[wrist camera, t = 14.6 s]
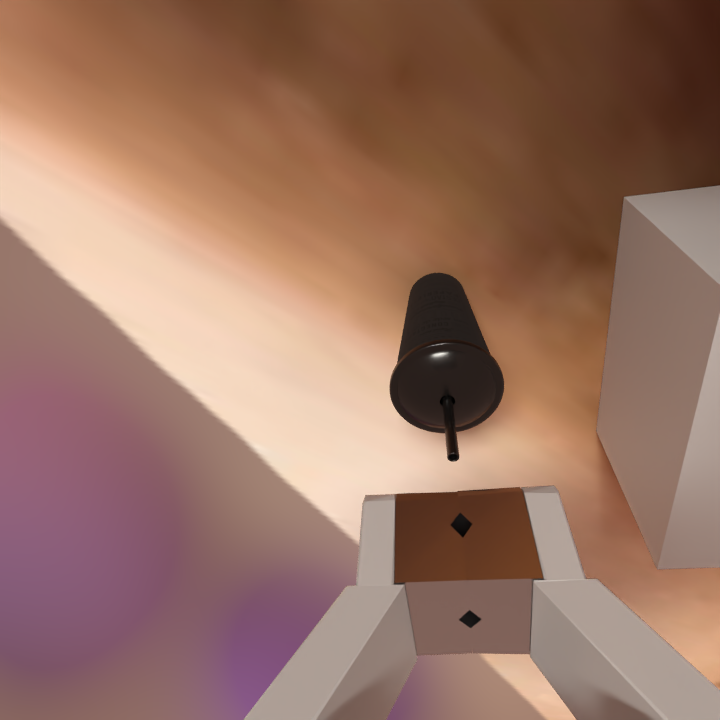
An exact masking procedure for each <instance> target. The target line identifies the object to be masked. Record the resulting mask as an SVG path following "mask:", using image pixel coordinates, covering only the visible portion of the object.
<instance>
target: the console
mask: <svg viewBox="0 0 720 720" xmlns="http://www.w3.org/2000/svg"><path fill="white" fill-rule="evenodd" d="M596 432H597V434H598V436H599V439H600V441H601V443H602V446H603V448H604V450H605V452H606V455H607V457H608V459H609V461H610V464H611V466H612V468H613V470H614V473H615V475H616V477H617V480H618V482H619V484H620V486H621V489H622V491H623V493H624V495H625V498H626V500H627V502H628V504H629V507H630V509H631V511H632V514H633V516H634V518H635V520H636V523H637V525H638V527H639V529H640V532H641V534H642V536H643V539H644V541H645V543H646V545H647V548H648V550H649V552H650V554H651V557H652V559H653V561H654V563H655V566H656V568H657V569H687V568H720V185H719V186H711V187H703V188H694V189H686V190H678V191H670V192H661V193H653V194H645V195H636V196H628V197H624V200H623V209H622V217H621V226H620V234H619V242H618V251H617V259H616V268H615V276H614V285H613V293H612V302H611V310H610V319H609V327H608V335H607V344H606V352H605V361H604V369H603V378H602V386H601V395H600V403H599V411H598V420H597V428H596Z"/></svg>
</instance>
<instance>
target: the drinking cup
mask: <svg viewBox="0 0 720 720" xmlns="http://www.w3.org/2000/svg"><path fill="white" fill-rule="evenodd" d="M503 392H504V379H503V375H502V372H501V369H500V367H499V365H498V363H497V362H496V360H495V359H494V358H493V357H492V356H491V355H490V353H489V350H488V348H487V345H486V343H485V340H484V338H483V336H482V333H481V331H480V328H479V326H478V324H477V321H476V319H475V316H474V314H473V311H472V309H471V307H470V304H469V302H468V299H467V297H466V295H465V292H464V290H463V287H462V286H461V284H460V283H459V281H458V280H456V279H455V278H454V277H452V276H450V275H447V274H444V273H433V274H429V275H426V276H424V277H422V278H420V279H419V280H418V281H417V282H416V283H415V284H414V285H413V287H412V289H411V292H410V296H409V301H408V307H407V312H406V318H405V323H404V329H403V334H402V340H401V345H400V350H399V356H398V361H397V365H396V366H395V368H394V370H393V372H392V375H391V379H390V397H391V400H392V403H393V405H394V407H395V409H396V410H397V412H398V413H399V414H400V415H401V416H402V417H403V418H404V419H405V420H406V421H407V422H409V423H410V424H412V425H414V426H416V427H418V428H420V429H423V430H426V431H430V432H436V433H445V436H446V447H447V458H448V460H449V461H457V460H458V459H459V451H458V442H457V434H456V432H459V431H464V430H467V429H470V428H472V427H474V426H477V425H478V424H480V423H482V422H483V421H485V420H486V419H487V418H488V417H490V416H491V415H492V413H493V412H494V411H495V410H496V408H497V407H498V405H499V403H500V401H501V399H502V396H503Z"/></svg>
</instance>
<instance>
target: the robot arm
mask: <svg viewBox="0 0 720 720" xmlns="http://www.w3.org/2000/svg"><path fill="white" fill-rule="evenodd" d="M472 652H473V653H492V654H530V657H531V659H532V660H533V661H534V663H535V664H536V666H537V667H538V668H539V670H540V671H541V672H542V674H543V675H544V676H545V678H546V679H547V680H548V682H549V683H550V684H551V686H552V687H553V688H554V690H555V691H556V692H557V694H558V695H559V696H560V698H561V699H562V700H563V702H564V703H565V704H566V706H567V707H568V709H569V710H570V711H571V713H572V714H573V715H574V717H575V718H576V719H577V720H720V690H719V689H718V688H717V687H716V686H715V685H713V684H712V683H711V682H710V681H709V680H708V679H707V678H706V677H705V676H704V675H702V674H701V673H700V672H699V671H698V670H697V669H696V668H695V667H694V666H693V665H691V664H690V663H689V662H688V661H687V660H686V659H685V658H684V657H683V656H682V655H680V654H679V653H678V652H677V651H676V650H675V649H674V648H673V647H672V646H671V645H669V644H668V643H667V642H666V641H665V640H664V639H663V638H662V637H661V636H660V635H658V634H657V633H656V632H655V631H654V630H653V629H652V628H651V627H650V626H649V625H647V624H646V623H645V622H644V621H643V620H642V619H641V618H640V617H639V616H638V615H636V614H635V613H634V612H633V611H632V610H631V609H630V608H629V607H628V606H627V605H625V604H624V603H623V602H622V601H621V600H620V599H619V598H618V597H617V596H616V595H614V594H613V593H612V592H611V591H610V590H609V589H608V588H607V587H606V586H605V585H603V584H602V583H601V582H600V581H599V580H598V579H586V577H585V573H584V570H583V567H582V564H581V561H580V558H579V555H578V551H577V548H576V545H575V542H574V539H573V536H572V532H571V529H570V526H569V523H568V520H567V517H566V513H565V510H564V507H563V504H562V501H561V498H560V494H559V491H558V490H557V489H556V487H555V486H537V487H522V488H521V489H520V487H515V488H499V489H484V490H469V491H457V492H443V493H407V494H387V495H365V498H364V501H363V506H362V518H361V530H360V542H359V555H358V566H357V579H356V586H346V587H345V589H344V590H343V591H342V593H341V594H340V595H339V596H338V598H337V599H336V600H335V602H334V603H333V604H332V606H331V607H330V608H329V609H328V611H327V612H326V613H325V615H324V616H323V617H322V619H321V620H320V621H319V622H318V624H317V625H316V626H315V628H314V629H313V630H312V632H311V633H310V634H309V635H308V637H307V638H306V639H305V641H304V642H303V644H302V645H301V646H300V647H299V649H298V650H297V651H296V652H295V654H294V655H293V656H292V658H291V659H290V660H289V662H288V663H287V664H286V665H285V667H284V668H283V669H282V671H281V672H280V673H279V674H278V676H277V677H276V678H275V680H274V681H273V682H272V683H271V685H270V686H269V687H268V689H267V690H266V691H265V693H264V694H263V695H262V696H261V698H260V699H259V700H258V702H257V703H256V704H255V706H254V707H253V708H252V709H251V711H250V712H249V714H248V715H247V716H246V717H245V719H244V720H386V719H387V717H388V715H389V713H390V711H391V709H392V707H393V706H394V704H395V701H396V700H397V698H398V696H399V694H400V692H401V690H402V688H403V686H404V684H405V682H406V680H407V678H408V676H409V674H410V673H411V671H412V669H413V667H414V665H415V663H416V661H417V655H436V654H437V655H438V654H463V653H472Z"/></svg>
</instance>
